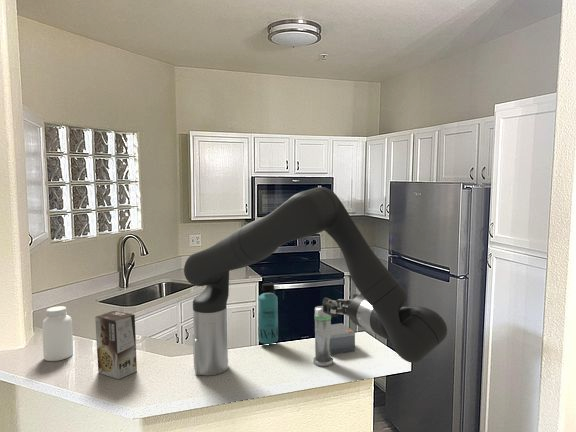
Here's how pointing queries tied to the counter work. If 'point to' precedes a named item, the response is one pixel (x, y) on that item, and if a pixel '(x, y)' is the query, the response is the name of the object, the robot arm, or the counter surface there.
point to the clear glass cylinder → (322, 338)
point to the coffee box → (116, 344)
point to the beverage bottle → (268, 315)
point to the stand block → (342, 339)
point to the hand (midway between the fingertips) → (339, 299)
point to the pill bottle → (57, 334)
